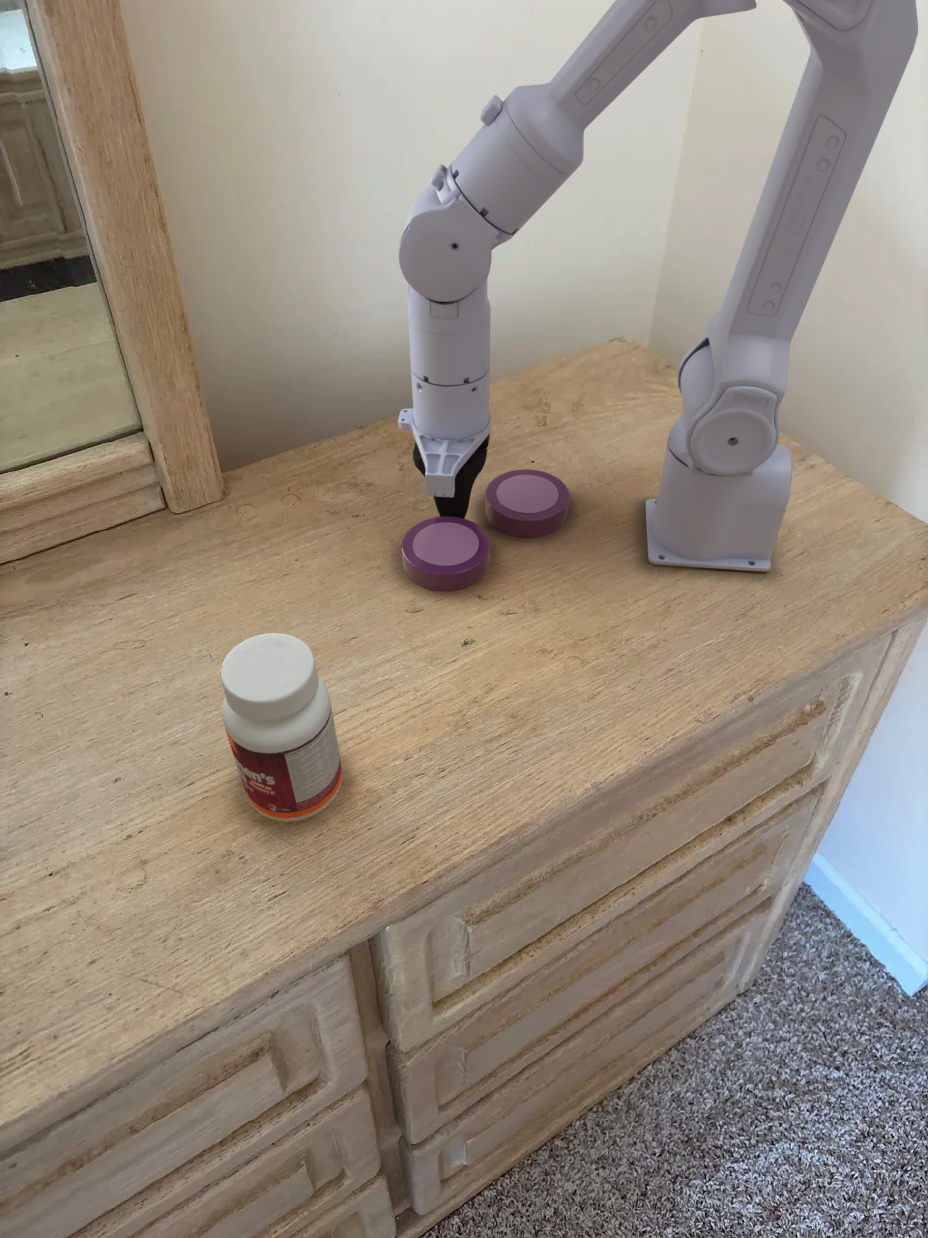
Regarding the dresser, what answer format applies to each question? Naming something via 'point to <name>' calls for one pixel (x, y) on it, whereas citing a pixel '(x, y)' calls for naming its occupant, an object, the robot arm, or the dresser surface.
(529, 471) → the purple round puck
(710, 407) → the robot arm
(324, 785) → the pill bottle
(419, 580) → the purple disc
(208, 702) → the dresser surface
